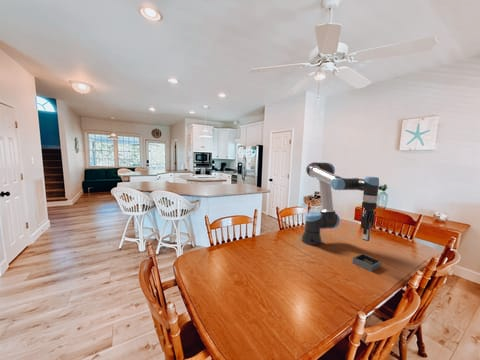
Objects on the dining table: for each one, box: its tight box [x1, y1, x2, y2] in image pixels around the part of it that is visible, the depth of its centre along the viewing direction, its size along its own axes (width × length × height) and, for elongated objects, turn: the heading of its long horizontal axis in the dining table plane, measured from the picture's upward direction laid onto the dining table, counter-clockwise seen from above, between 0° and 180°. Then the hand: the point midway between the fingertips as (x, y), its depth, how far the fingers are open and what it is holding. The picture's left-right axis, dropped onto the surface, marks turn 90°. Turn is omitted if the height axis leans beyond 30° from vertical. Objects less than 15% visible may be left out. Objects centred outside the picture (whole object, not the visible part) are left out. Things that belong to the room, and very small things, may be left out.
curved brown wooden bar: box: [362, 222, 372, 242], centre depth 126 cm, size 3×2×12 cm, turn 31°
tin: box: [352, 253, 382, 273], centre depth 129 cm, size 12×12×4 cm
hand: (366, 238), depth 127 cm, fingers closed on curved brown wooden bar, 2 cm apart
